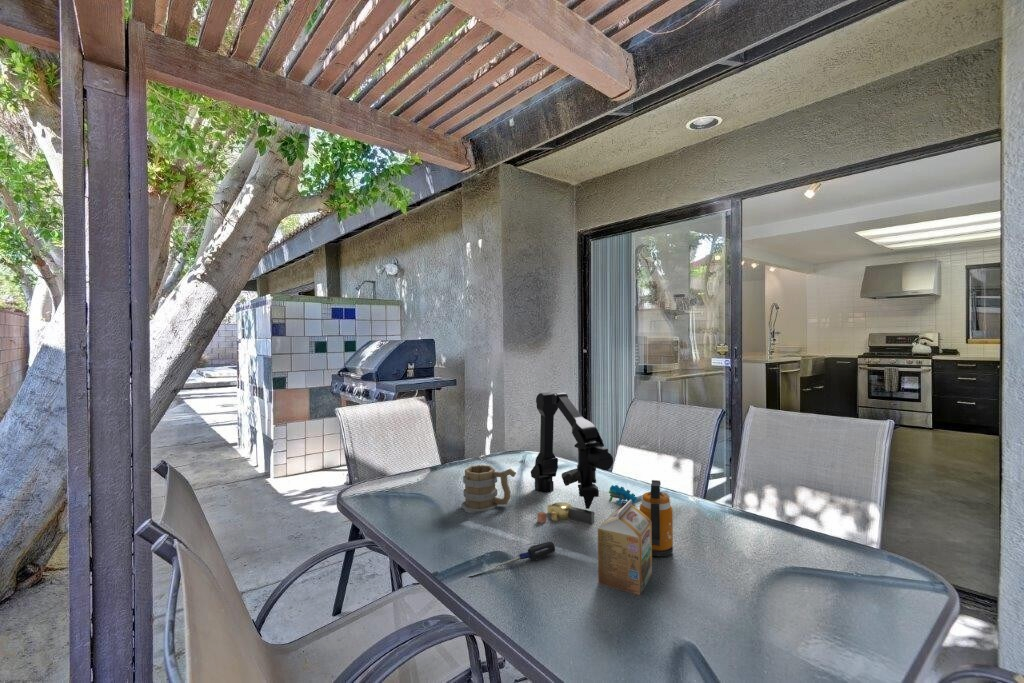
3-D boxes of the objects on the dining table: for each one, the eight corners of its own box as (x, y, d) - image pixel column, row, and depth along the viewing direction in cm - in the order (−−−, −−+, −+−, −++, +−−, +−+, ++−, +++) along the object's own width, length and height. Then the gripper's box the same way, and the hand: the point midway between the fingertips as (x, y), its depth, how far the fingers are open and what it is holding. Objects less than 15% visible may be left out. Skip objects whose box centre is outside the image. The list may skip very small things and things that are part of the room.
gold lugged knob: (541, 517, 157) (541, 507, 157) (556, 507, 165) (556, 498, 165) (586, 528, 147) (585, 518, 147) (599, 517, 155) (599, 507, 155)
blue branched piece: (642, 500, 168) (627, 485, 165) (636, 515, 166) (621, 500, 162) (619, 496, 177) (604, 481, 174) (613, 510, 174) (597, 495, 171)
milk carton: (639, 595, 113) (639, 517, 112) (598, 583, 118) (597, 509, 118) (652, 575, 122) (651, 502, 121) (612, 564, 127) (612, 495, 127)
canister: (672, 545, 137) (672, 478, 137) (672, 564, 127) (672, 491, 126) (641, 541, 140) (640, 475, 140) (638, 559, 130) (637, 488, 129)
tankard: (456, 511, 166) (455, 469, 166) (472, 499, 178) (472, 459, 177) (508, 519, 159) (508, 475, 158) (522, 505, 170) (521, 464, 170)
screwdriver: (471, 580, 121) (470, 566, 121) (466, 574, 124) (465, 560, 124) (557, 557, 132) (557, 543, 132) (550, 551, 136) (550, 538, 135)
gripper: (562, 455, 168) (563, 498, 169) (563, 471, 150) (564, 519, 150) (593, 455, 167) (594, 498, 168) (598, 471, 149) (599, 519, 149)
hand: (587, 508), depth 159 cm, fingers closed
